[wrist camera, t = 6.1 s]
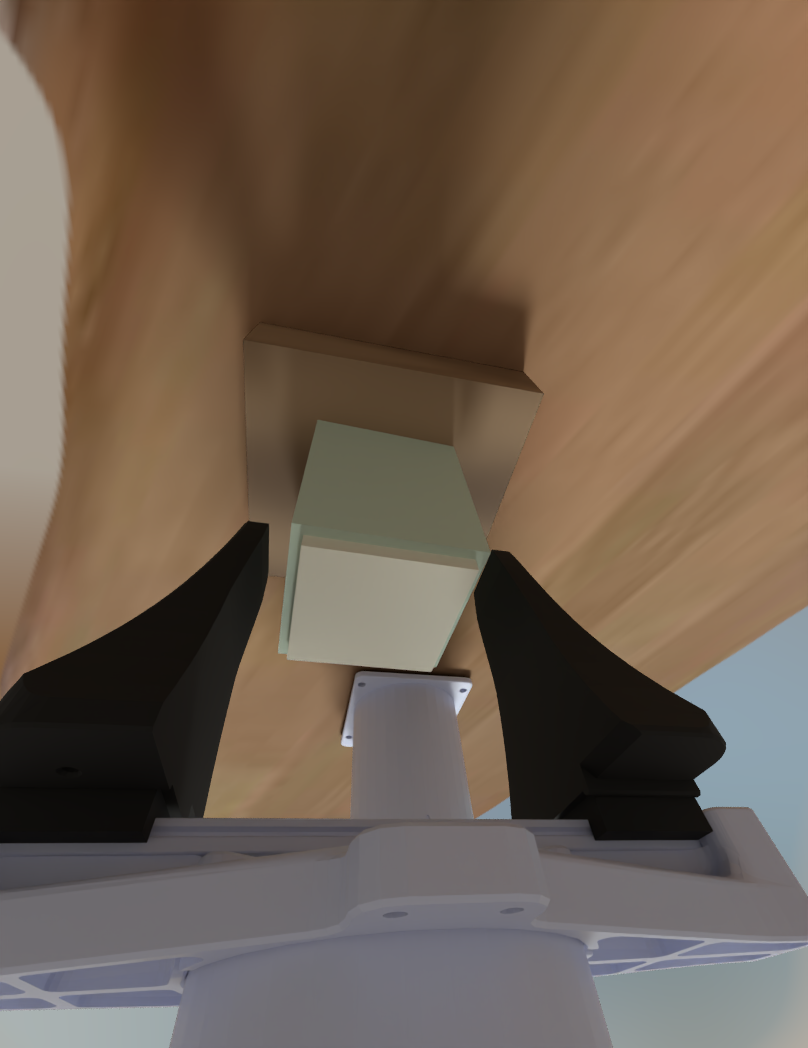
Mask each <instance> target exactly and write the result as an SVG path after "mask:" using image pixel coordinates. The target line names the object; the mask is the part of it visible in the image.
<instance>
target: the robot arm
mask: <svg viewBox="0 0 808 1048" xmlns="http://www.w3.org/2000/svg"><path fill="white" fill-rule="evenodd" d="M268 573H269V523H260V522H252V521H248V522H247V523H245V524H244V525H243V526H242V527H241V529H240V530H239V531H238V532H237V533H236V534H235V535H234V536H233V537H232V538H231V540H230V541H229V542H228V543H227V544H226V545H225V546H224V547H223V548H222V549H221V550H220V551H219V552H218V553H217V554H216V555H215V556H214V557H213V558H211V559H210V560H209V561H208V562H207V563H206V564H205V565H204V566H203V567H202V568H201V569H199V570H198V571H197V572H196V573H195V574H194V575H192V576H191V577H190V578H189V579H188V580H187V581H186V582H184V583H183V584H182V585H181V586H179V587H178V588H177V589H175V590H174V591H173V592H172V593H170V594H169V595H168V596H166V597H165V598H163V599H162V600H161V601H159V602H158V603H156V604H155V605H154V606H152V607H150V608H149V609H147V610H146V611H144V612H143V613H141V614H140V615H138V616H137V617H135V618H134V619H132V620H130V621H129V622H127V623H126V624H124V625H122V626H120V627H119V628H117V629H115V630H113V631H112V632H110V633H108V634H106V635H104V636H102V637H101V638H99V639H97V640H95V641H93V642H91V643H89V644H87V645H85V646H83V647H81V648H79V649H77V650H75V651H73V652H71V653H69V654H67V655H65V656H62V657H60V658H58V659H56V660H54V661H51V662H49V663H47V664H45V665H43V666H40V667H38V668H36V669H34V670H31V671H29V672H27V673H24V674H23V675H22V676H21V678H20V679H19V680H18V681H17V682H16V683H15V684H14V685H13V686H12V687H11V689H10V690H9V691H8V692H7V693H6V694H5V696H4V697H3V698H2V699H1V701H0V1011H11V1010H55V1009H98V1008H99V1009H100V1008H144V1007H145V1008H146V1007H179V1009H178V1014H177V1018H176V1022H175V1026H174V1030H173V1034H172V1038H171V1042H170V1047H169V1048H613V1046H612V1043H611V1039H610V1036H609V1032H608V1029H607V1025H606V1022H605V1018H604V1015H603V1012H602V1008H601V1004H600V1001H599V998H598V994H597V991H596V987H595V984H594V980H593V977H597V976H605V975H615V974H624V973H632V972H642V971H651V970H660V969H669V968H679V967H688V966H700V965H711V964H721V963H722V964H723V963H737V962H749V961H750V962H751V961H757V960H760V959H764V958H767V957H772V956H775V955H778V954H782V953H786V952H790V951H793V950H797V949H800V948H804V947H808V896H807V895H806V893H805V892H804V890H803V889H802V887H801V885H800V884H799V882H798V881H797V879H796V877H795V876H794V875H793V873H792V871H791V869H790V868H789V866H788V865H787V863H786V862H785V860H784V858H783V857H782V856H781V854H780V852H779V851H778V849H777V848H776V846H775V844H774V843H773V841H772V840H771V838H770V836H769V835H768V833H767V832H766V830H765V829H764V827H763V825H762V824H761V822H760V821H759V819H758V818H757V816H756V815H755V813H754V811H753V810H752V809H750V808H748V807H712V808H708V809H704V810H701V808H700V806H699V804H698V803H697V801H696V799H695V797H698V796H700V790H699V788H698V786H697V785H696V783H695V781H694V779H695V778H696V777H697V776H699V775H700V774H701V773H702V772H704V771H705V770H707V769H708V768H709V767H711V766H712V765H713V764H715V763H716V762H717V761H718V760H719V759H720V758H721V757H722V756H723V754H724V752H725V750H726V742H725V741H724V739H723V738H722V736H721V735H720V733H719V732H718V730H717V728H716V727H715V726H714V724H713V722H712V721H711V719H710V718H709V716H708V715H707V713H706V712H705V711H704V710H703V709H701V708H699V707H697V706H695V705H693V704H692V703H690V702H688V701H687V700H685V699H683V698H681V697H679V696H678V695H676V694H674V693H672V692H671V691H669V690H667V689H666V688H664V687H662V686H661V685H659V684H658V683H656V682H655V681H653V680H651V679H650V678H648V677H647V676H645V675H644V674H642V673H641V672H639V671H638V670H636V669H635V668H633V667H632V666H630V665H629V664H628V663H626V662H625V661H623V660H622V659H621V658H619V657H618V656H617V655H615V654H614V653H613V652H611V651H610V650H609V649H607V648H606V647H605V646H604V645H602V644H601V643H600V642H599V641H597V640H596V639H595V638H594V637H593V636H591V635H590V634H589V633H588V632H587V631H586V630H584V629H583V628H582V627H581V626H580V625H579V624H578V623H577V622H575V621H574V620H573V619H572V618H571V617H570V616H569V615H568V614H567V613H566V612H565V611H564V610H563V609H562V608H561V607H560V606H559V605H558V604H557V603H556V602H555V601H554V600H553V599H552V598H551V597H550V596H549V595H548V594H547V592H546V591H545V590H544V589H543V588H542V587H541V586H540V585H539V584H538V583H537V582H536V580H535V579H534V578H533V577H532V576H531V575H530V574H529V573H528V571H527V570H526V569H525V568H524V567H523V566H522V565H521V564H520V563H519V561H518V560H517V559H516V558H515V557H514V556H513V555H512V554H511V553H510V552H507V551H498V550H492V551H491V554H490V556H489V558H488V561H487V563H486V565H485V568H484V570H483V573H482V575H481V577H480V580H479V582H478V584H477V587H476V589H475V592H474V597H475V606H476V613H477V620H478V624H479V628H480V632H481V636H482V639H483V643H484V647H485V650H486V654H487V658H488V661H489V665H490V669H491V672H492V676H493V679H494V684H495V688H496V692H497V698H498V704H499V710H500V717H501V723H502V730H503V737H504V745H505V752H506V761H507V771H508V780H509V790H510V803H511V816H512V819H474V818H473V812H472V806H471V800H470V794H469V788H468V782H467V776H466V770H465V764H464V758H463V752H462V746H461V740H460V734H459V728H458V722H457V714H458V713H459V711H460V709H461V707H462V705H463V703H464V701H465V699H466V697H467V695H468V693H469V691H470V689H471V687H472V681H471V679H470V678H466V677H451V676H435V675H419V674H403V673H387V672H371V671H360V672H358V673H356V675H355V679H354V683H353V688H352V692H351V697H350V701H349V706H348V710H347V715H346V719H345V724H344V728H343V733H342V737H341V744H342V745H343V746H348V747H353V757H352V786H351V814H350V819H300V818H203V816H204V811H205V806H206V802H207V797H208V792H209V788H210V783H211V778H212V774H213V769H214V765H215V761H216V756H217V752H218V747H219V743H220V739H221V734H222V730H223V726H224V722H225V718H226V713H227V709H228V705H229V701H230V697H231V693H232V689H233V685H234V681H235V677H236V674H237V671H238V668H239V665H240V662H241V659H242V656H243V653H244V651H245V648H246V645H247V642H248V640H249V637H250V634H251V631H252V628H253V626H254V623H255V620H256V617H257V615H258V612H259V609H260V606H261V603H262V600H263V596H264V591H265V587H266V582H267V578H268Z"/></svg>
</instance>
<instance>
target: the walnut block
mask: <svg viewBox="0 0 808 1048" xmlns="http://www.w3.org/2000/svg"><path fill="white" fill-rule="evenodd" d="M243 353H244V384H245V414H246V445H247V475H248V506H249V521H252V522H260V523H269V573H268V576H277V577H286V571H287V562H288V552H289V542H290V533H291V523H292V519H293V515H294V511H295V507H296V503H297V499H298V495H299V491H300V487H301V483H302V479H303V475H304V471H305V468H306V464H307V460H308V456H309V452H310V448H311V444H312V440H313V436H314V432H315V428H316V424H317V420H322V421H327V422H332V423H337V424H342V425H347V426H352V427H357V428H362V429H368V430H373V431H378V432H383V433H388V434H393V435H398V436H403V437H408V438H413V439H418V440H423V441H428V442H433V443H438V444H443V445H448V446H453V447H454V449H455V452H456V454H457V457H458V460H459V463H460V466H461V469H462V472H463V474H464V477H465V480H466V483H467V486H468V489H469V492H470V495H471V497H472V500H473V503H474V506H475V509H476V512H477V515H478V517H479V520H480V523H481V526H482V529H483V532H484V535H485V537H486V539H487V536H488V534H489V531H490V529H491V526H492V524H493V521H494V519H495V516H496V513H497V511H498V508H499V506H500V503H501V501H502V498H503V496H504V493H505V491H506V488H507V486H508V483H509V481H510V478H511V476H512V473H513V471H514V468H515V466H516V463H517V461H518V458H519V455H520V453H521V450H522V448H523V445H524V443H525V440H526V438H527V435H528V433H529V430H530V428H531V425H532V423H533V420H534V418H535V415H536V413H537V410H538V408H539V405H540V403H541V400H542V397H543V395H544V393H543V392H542V391H541V390H540V389H539V388H538V387H537V386H536V385H535V384H534V383H533V381H532V380H531V379H530V378H529V377H528V376H527V375H526V374H525V373H524V372H522V371H516V370H511V369H506V368H500V367H495V366H490V365H484V364H479V363H474V362H468V361H463V360H458V359H452V358H447V357H442V356H436V355H431V354H426V353H420V352H415V351H410V350H404V349H399V348H394V347H388V346H383V345H378V344H372V343H367V342H362V341H356V340H351V339H346V338H340V337H335V336H330V335H324V334H319V333H314V332H308V331H303V330H298V329H292V328H287V327H282V326H276V325H271V324H266V323H259V324H258V325H257V326H256V327H255V328H254V329H253V330H252V331H251V332H250V333H249V334H248V335H247V336H246V337H245V338H244V339H243Z"/></svg>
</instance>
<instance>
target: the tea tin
mask: <svg viewBox="0 0 808 1048" xmlns="http://www.w3.org/2000/svg"><path fill="white" fill-rule="evenodd" d="M490 553H491V552H490V549H489V546H488V543H487V540H486V537H485V535H484V532H483V529H482V526H481V523H480V520H479V517H478V515H477V512H476V509H475V506H474V503H473V500H472V497H471V495H470V492H469V489H468V486H467V483H466V480H465V477H464V474H463V472H462V469H461V466H460V463H459V460H458V457H457V454H456V452H455V449H454V447H453V446H448V445H443V444H438V443H433V442H428V441H423V440H418V439H413V438H408V437H403V436H398V435H393V434H388V433H383V432H378V431H373V430H368V429H362V428H357V427H352V426H347V425H342V424H337V423H332V422H327V421H322V420H317V424H316V428H315V432H314V436H313V440H312V444H311V448H310V452H309V456H308V460H307V464H306V468H305V471H304V475H303V479H302V483H301V487H300V491H299V495H298V499H297V503H296V507H295V511H294V515H293V519H292V523H291V533H290V542H289V552H288V562H287V571H286V581H285V590H284V600H283V610H282V619H281V629H280V639H279V648H278V653H282V654H287V660H298V661H310V662H321V663H333V664H344V665H355V666H367V667H378V668H390V669H401V670H413V671H424V672H432V669H433V667H437V665H438V662H439V660H440V658H441V656H442V654H443V652H444V650H445V648H446V646H447V644H448V641H449V639H450V637H451V635H452V633H453V631H454V629H455V627H456V625H457V623H458V620H459V618H460V616H461V614H462V612H463V610H464V608H465V606H466V604H467V602H468V599H469V597H470V595H471V593H472V591H473V589H474V587H475V585H476V583H477V581H478V578H479V576H480V574H481V572H482V570H483V568H484V566H485V564H486V562H487V560H488V557H489V555H490Z"/></svg>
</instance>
